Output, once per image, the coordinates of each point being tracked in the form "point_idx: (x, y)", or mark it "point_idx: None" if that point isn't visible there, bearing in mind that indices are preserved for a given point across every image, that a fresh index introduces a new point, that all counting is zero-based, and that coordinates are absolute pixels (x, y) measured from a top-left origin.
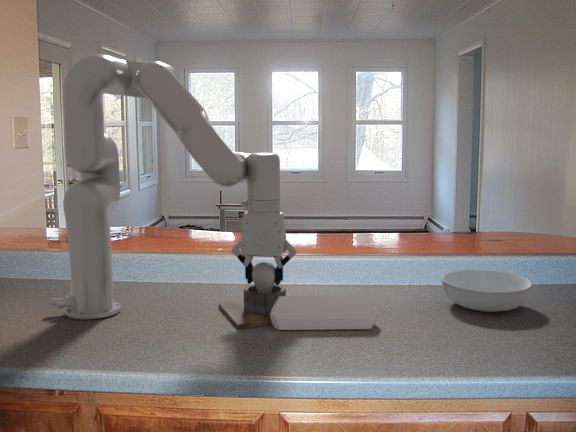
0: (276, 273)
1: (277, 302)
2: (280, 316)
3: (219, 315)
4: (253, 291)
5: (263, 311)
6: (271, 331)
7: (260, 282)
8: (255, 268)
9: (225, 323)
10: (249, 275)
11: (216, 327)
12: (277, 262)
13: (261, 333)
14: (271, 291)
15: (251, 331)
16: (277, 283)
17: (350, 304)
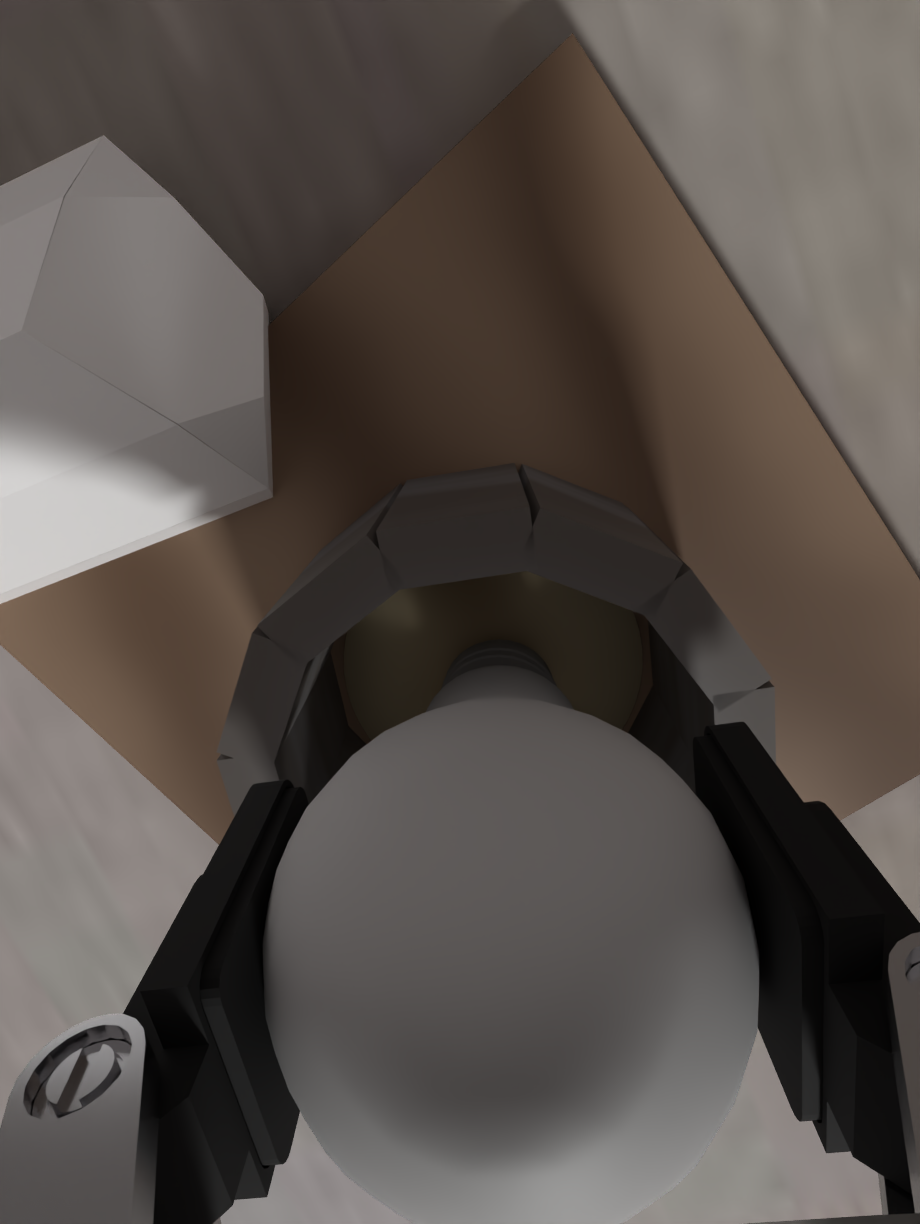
0: (215, 901)
1: (47, 230)
2: (51, 167)
3: (907, 463)
4: None
5: (425, 485)
6: (197, 121)
7: (500, 700)
8: (662, 909)
9: (768, 218)
10: (753, 799)
11: (827, 29)
12: (97, 1150)
13: (264, 3)
14: None
15: (395, 34)
16: (256, 788)
17: None
